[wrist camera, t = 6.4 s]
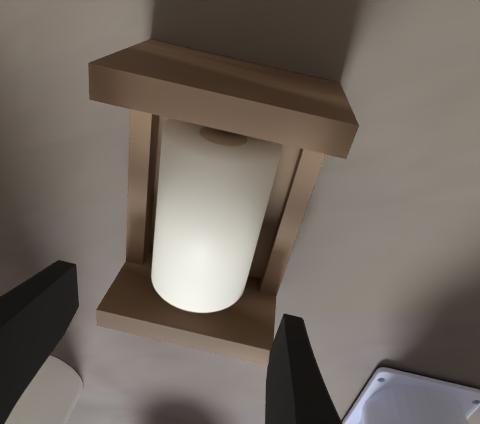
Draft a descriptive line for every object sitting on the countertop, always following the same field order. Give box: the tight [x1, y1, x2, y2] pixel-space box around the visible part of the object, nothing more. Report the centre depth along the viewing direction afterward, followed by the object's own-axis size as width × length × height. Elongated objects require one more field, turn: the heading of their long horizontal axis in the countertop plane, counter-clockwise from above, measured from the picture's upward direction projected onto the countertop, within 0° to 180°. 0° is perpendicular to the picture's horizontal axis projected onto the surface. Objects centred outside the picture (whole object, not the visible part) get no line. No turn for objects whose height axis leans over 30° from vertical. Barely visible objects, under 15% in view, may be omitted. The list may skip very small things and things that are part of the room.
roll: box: [151, 118, 282, 313], centre depth 18 cm, size 8×5×5 cm, turn 169°
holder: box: [88, 39, 359, 365], centre depth 18 cm, size 13×9×6 cm
